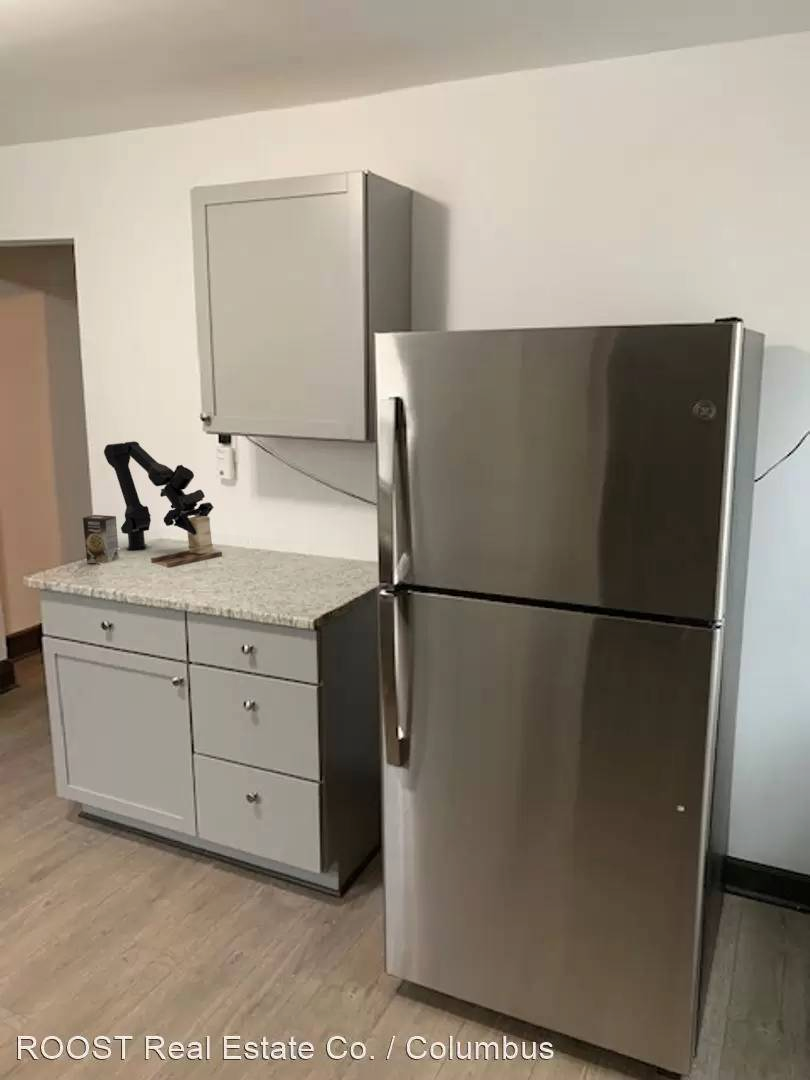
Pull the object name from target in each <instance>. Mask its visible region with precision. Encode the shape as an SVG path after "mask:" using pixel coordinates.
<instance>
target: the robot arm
mask: <svg viewBox="0 0 810 1080" xmlns="http://www.w3.org/2000/svg"><path fill="white" fill-rule="evenodd" d="M103 455H104V457H105V459H106V462H107V463H108V465H109V466H111V467H112V468H113V469H114V471H115V475H116V478H117V480H118V483H119V486H120V490H121V494H122V496H123V499H124V503H125V512H124V521H123V524H122V525H121V526H120V530H121V533H122V534H125V535H127V540H128V547H126V551H134V550H145V549H147V546H148V544H146V539H145V532H147V531H149V530H150V525H151V521H152V520H151V519H152V518H151V517H152V515H151V513H150V512H149V511H150V509H149V507H148V506H147V505H143V504H142V503H141V501H140V498H139V495H138V492H137V488H136V486H135V483H134V479H133V475H132V472H131V469H130V462H131V458H132V459H133V460H134V461H135V462H136V463H137V464H138V465H139V466H140V467H141V468H142V469H143V470H145V472H147V476H148V479H149V481H150V482H151V483H152V485H154V486H155V487H162V486H164V487H163V488H161V489H160V495H159V497H161V498H164V497H166V498H167V499H168V502H170V503H171V505H170V508H171V509H170V510H169V509H168V512H167V513H166V515H164V517H163V523H164V524H165V525H166V527H169V526H174V527H178V528H181V529H183V530H184V531H186V532H187V531H188V532H190V533H192V534H194V535H196V531H195V529H194V527H193V526H192V524H191V523H190V521H189V519H188V518H189V517H195V516H209V515H210V514H211V511H212V510H213V509H214V506H213V504H212V503H211V502H208V501H207V502H203V503H200V504H199V505H198V502H201V501H203V500H204V498H205V493H204V491H203V490H202V489H197V490H196V491H193V492H190V493H187V494H186V493H185V491H184V490H186V488H187V487H188V486H189V485H190V483H191V482H192V480H193V479H194V477H195V475H194V472H193V471H192V470H191V469H189V468H187V467H186V466H184V465H183V464H178V465H177V466H176V467H175V469H174V470H172V469H171V468H170V467H169V466H167V465H166V464H165V465H164V464H162V463H159V462H158V461H156V460H155V459H154V457H152V456H151V455H150V454H149V452H147V451H145V449H144V448H143V447H142V446H141V445H140V443H139V442H137V441H135V440H133V441H127V442H120V443H119V442H118V443H111V444H106V446H105V448H104V449H103ZM197 506H198V507H197ZM195 507H197V508H195ZM188 532H187V533H188Z"/></svg>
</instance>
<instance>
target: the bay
mask: <svg viewBox="0 0 810 1080" xmlns="http://www.w3.org/2000/svg"><path fill="white" fill-rule="evenodd" d="M220 557H223V551H217V552H205V553H201V554H200V553H190V551H189V550H184V551H180V552H175V553H174V552H173V553H169V554H165V555H160V556H155V557H150V562H151V563H152V564H154V565H159V566H162V567H165V568H169V569H170V568H174V567H180V566H184V565H189V564H192V563H198V562H201V561H206V560H207V561H208V560H210V559H212V560H213V559H216V558H220Z"/></svg>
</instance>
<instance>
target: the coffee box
mask: <svg viewBox="0 0 810 1080" xmlns="http://www.w3.org/2000/svg"><path fill="white" fill-rule="evenodd" d="M82 524H83V533H84V545H85V557H86V563H87V564H88V563H96V564H95V565H100V563H111V562H114V561H117V560H119V559H120V553H119V540H118V539H119V538H118V528H117V527H118V525H117V516H116V515H102V514H93V515H88V516H87V515H86V516H83V517H82Z"/></svg>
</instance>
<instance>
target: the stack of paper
mask: <svg viewBox="0 0 810 1080" xmlns="http://www.w3.org/2000/svg"><path fill="white" fill-rule="evenodd" d="M210 518H211V517H210V516H209V515H208V516H189V517H188V519H189V521H190V523H191V524H192V526H193V527H194V529H195V531H196V535H194V534H192V533H190V532H188V531H186V532H187V539H188V549H189V551H190V553H200V554H201V553H205V552H208V553H210V552H211V551H213V542H212V531H211V522H210V521H211V519H210Z"/></svg>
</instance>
